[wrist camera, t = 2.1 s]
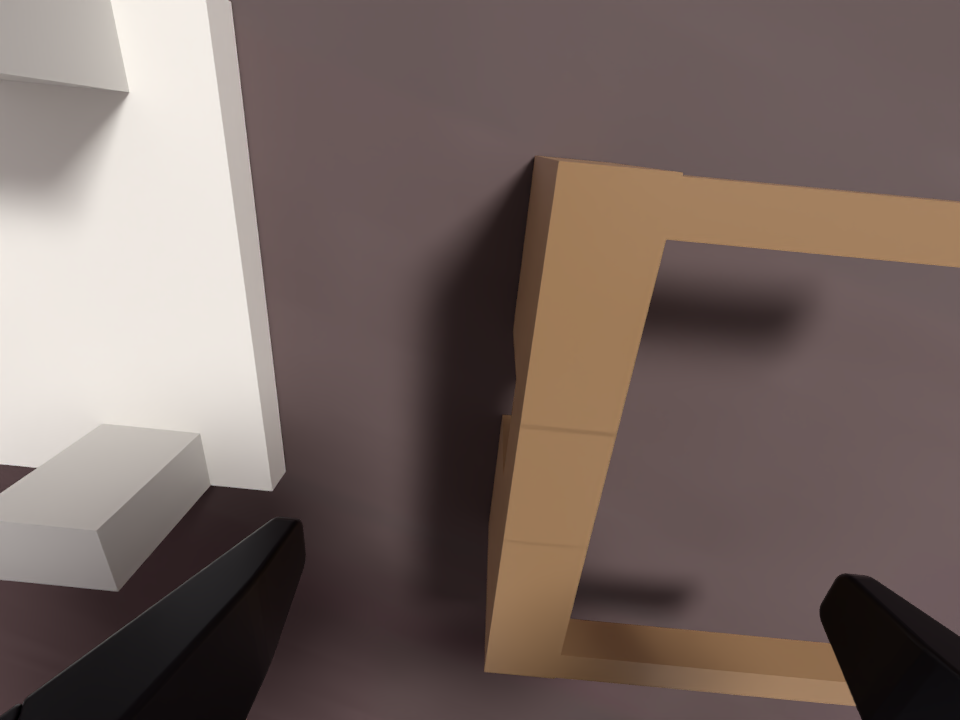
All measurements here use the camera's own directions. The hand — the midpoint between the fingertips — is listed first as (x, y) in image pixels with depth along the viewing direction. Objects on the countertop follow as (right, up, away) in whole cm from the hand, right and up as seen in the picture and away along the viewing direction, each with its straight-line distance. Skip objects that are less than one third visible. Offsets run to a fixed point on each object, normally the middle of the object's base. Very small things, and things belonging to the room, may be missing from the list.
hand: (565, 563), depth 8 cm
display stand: (-13, +6, +5) cm, 16 cm away
